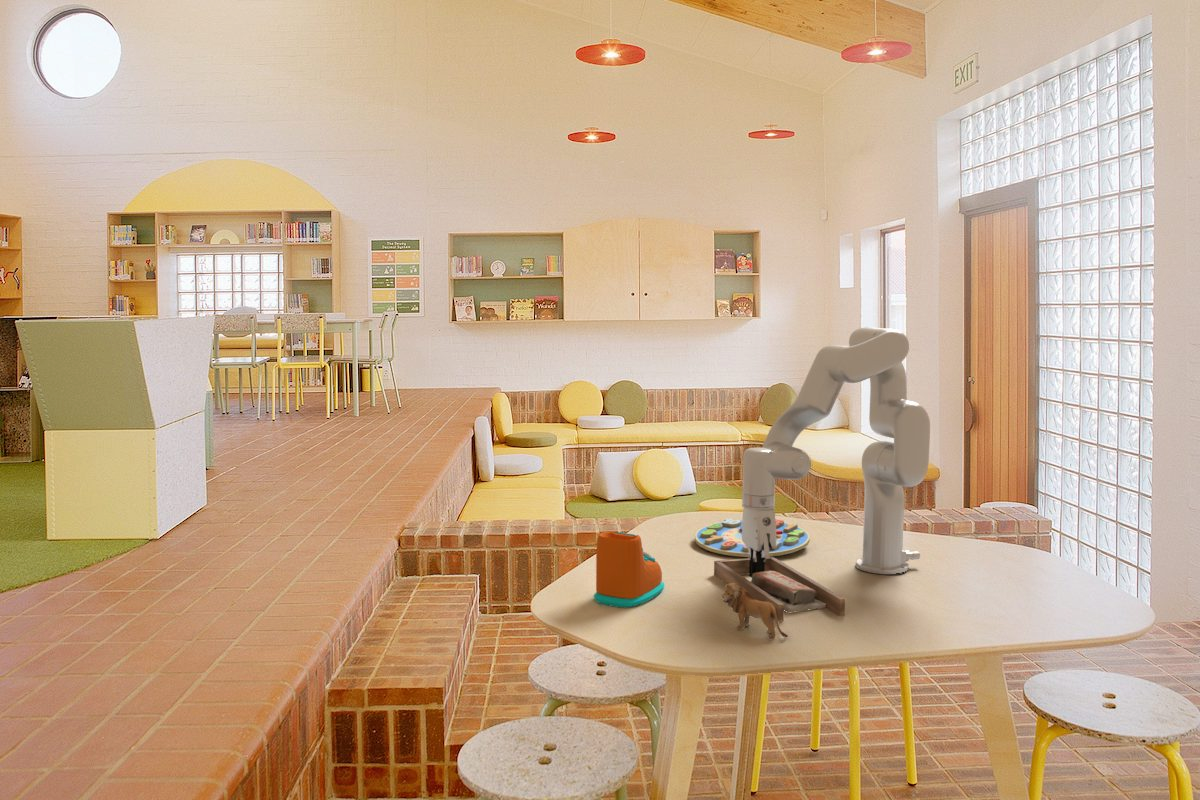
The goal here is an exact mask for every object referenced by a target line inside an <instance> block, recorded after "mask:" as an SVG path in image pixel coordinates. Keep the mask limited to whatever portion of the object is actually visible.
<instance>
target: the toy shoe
mask: <svg viewBox="0 0 1200 800" xmlns="http://www.w3.org/2000/svg"><path fill="white" fill-rule="evenodd" d="M642 543H643V542H642V538H641V536H640V535H639V534H637V535H636V534H633V533H627V532H618V531H617V532H614V531H612V530H611V531H603V532H601V533H599V534H598V536H597V540H596V553H595V555H596V559H595V561H596V563H595V567H596V569H595V573H596V574H595V575H596V576H595V579H596V580H595V581H596V583H595V585H596V586H595V587H596V588H595V591H596V592H595V593H594V595H593V597H594V601H596V602H597V604H600V603H601V605H604V604H605V606H609V605H611V606H610V607H615V606H617V607H616V608H623V607H626V608H632V606H633V607H636V605H637V606H639V604H640V605H642V604H644V603H646V602H648V601H650V600H652V599H653V598H655V597H656V596H658V595H659V594H660V593H661V592H662V591H663V590H664V588H665V583H664V582H663V575H662V574H663V572H662V569H661V566H660V564H659V562H658V561H656V559H655V557H654V556H653V557H652V555H651V554H650V553H648V552H646V551H644V548H643V544H642ZM641 603H642V604H641Z"/></svg>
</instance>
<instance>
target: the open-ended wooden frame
mask: <svg viewBox="0 0 1200 800" xmlns="http://www.w3.org/2000/svg"><path fill="white" fill-rule="evenodd" d="M749 560H750V559H749V557H746V558H736V559H724V560H723V559H722V560H714V561H713V565H714V566H713V576H714V577H716V578H717V579H719V580H720V581H722V582H723V583H724V584H725V585H727V584H729V583H735V584H738V585H740V586H742V587H744V589H745V590H747V591H748V592H749V593H750V594H751V595H752V597H753V598H754V599H755V600H758V601H764V602H770V603H771V604H773V605H774V607H775V611H776V614H777V618H778V622H783V621H784V620H785V619H784V618H785V617H784V614H785V613H784V612H785V611H784V604H783V603H781V602H780V601H778V600H777V599H775V598H774V597H772V596H771V595H769V594H768V593H766V592H765V591H763V590H762V589H760V588H759V587H757V586H756V585H754V584H753V583H751V581H750V580H748V579H747V578H746V577H744V576H742V575H749ZM769 570H772V571H775V572H778V573H780V574H782V575H784V576H786V577H789V578H790V579H793V580H795V581H797V582H799V583H801V584H803V585H805V586H807V587H809V588H811V589H813V590H815V591H816V592H817V593H816V596H815V599H816V600H819V601H821V602H822V603H826V608H827V609H828V608H829V609H828V610H830V611H832V612H833V611H834V612H833V613H835V614H836V615H838V616H845V614H846V613H845V612H846V598H844V597H843V596H841V595H839V594H837V593H836V592H834V591H832V590H831V589H829V588H827V587H825V586H824V585H822V584H820V583H818V582H817V581H815V580H814V579H812V578H810V577H808V576H806V575H805V574H803V573H802V572H800V571H798V570H797V569H794V568H792V567H791V566H790V565H788V564H787V563H785V562H783V561H781V560H779V559H778V558H775V556H774V557H767V558H766V561H765V571H769Z"/></svg>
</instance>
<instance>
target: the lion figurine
mask: <svg viewBox="0 0 1200 800" xmlns="http://www.w3.org/2000/svg"><path fill="white" fill-rule="evenodd" d="M721 600H723V603H724V604H727V606H728V607H730V608H731V609H732V612H734V613H736V614H737V615H738V620H739V625H737V627H736V629H737V630H738V631H742V630H745V627H749V625H750V617H751V618H754V619H761V620H762V622H763V624H764V626H765V627H766V628H767V630H766V632H767V633H768V634H769V635H768V639H769V640H771V641H773V640H775V639H776V635H777V634H776V630H775V628H777V631H778V632H779V633H780V635H781V636H782V637H783V638H788V637H789V636H788V634H787V633H785V632H783V631H782V629H781V628H780V625H779V623H780V622H779V621H778V618H777V614H776V611H775V607H774V605H773V604H771V603H770V602H764V601H758V600H755V599H754V598H753V597H752V595H751V594H750V593H749V592H748V591H747V590H745V589H744V587H742V586H740V585H738V584H735V583H729V584H725V587H724V592H723V594H722V595H721Z"/></svg>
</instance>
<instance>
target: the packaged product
mask: <svg viewBox="0 0 1200 800" xmlns="http://www.w3.org/2000/svg"><path fill="white" fill-rule="evenodd" d="M750 582H751V583H753V584H754V585H756V586H757V587H759V588H760V589H762V590H763V591H765V592H766V593H768V594H769V595H771V596H772V597H774V598H775V599H777V600H778V601H780V602H781V603H783V604H784V610H785V611H787V612H786V613H788V612H793V613H795V612H794V611H800V612H803V611H802V610H807V611H809V610H808V609H812V610H817V609H816V608H818V609H823V608H822V607H826V603H822V602H821V601H819V600H816V599H815V596H816V593H817V592H816V591H815V590H813V589H811V588H809V587H807V586H805V585H803V584H801V583H799V582H797V581H795V580H793V579H790V578H789V577H786V576H784V575H782V574H780V573H778V572H775V571H772V570H769V571H763V572H756V573H753V574H752V578H751V581H750ZM826 608H827V607H826ZM785 611H784V612H785Z"/></svg>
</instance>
